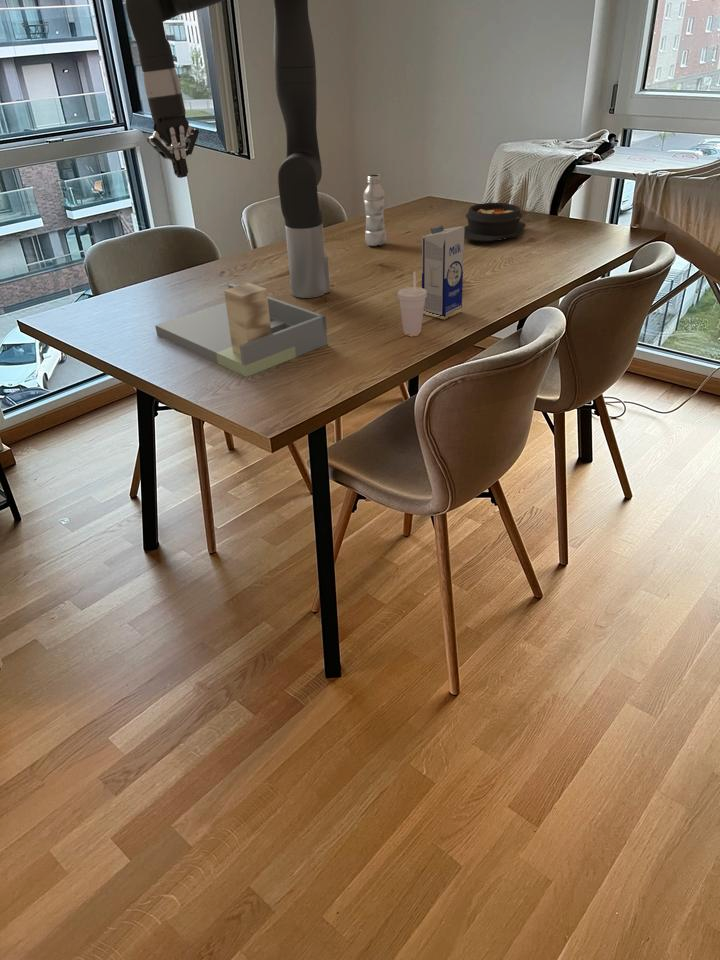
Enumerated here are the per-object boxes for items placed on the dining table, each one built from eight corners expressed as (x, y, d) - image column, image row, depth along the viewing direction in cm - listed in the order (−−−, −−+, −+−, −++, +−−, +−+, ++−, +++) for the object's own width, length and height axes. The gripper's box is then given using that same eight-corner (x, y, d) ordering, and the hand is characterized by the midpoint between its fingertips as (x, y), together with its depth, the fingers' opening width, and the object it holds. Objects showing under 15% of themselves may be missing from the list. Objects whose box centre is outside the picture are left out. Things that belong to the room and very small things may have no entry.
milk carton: (444, 320, 174) (446, 232, 163) (421, 314, 178) (421, 227, 167) (462, 311, 179) (465, 225, 168) (439, 306, 183) (440, 221, 172)
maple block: (255, 342, 161) (248, 282, 154) (273, 349, 157) (266, 288, 150) (232, 351, 158) (224, 290, 151) (250, 358, 154) (242, 296, 147)
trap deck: (234, 309, 186) (231, 283, 183) (327, 344, 165) (325, 316, 162) (157, 335, 174) (151, 308, 170) (246, 377, 153) (242, 346, 149)
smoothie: (424, 340, 165) (425, 276, 157) (395, 338, 166) (394, 276, 159) (428, 329, 170) (428, 267, 163) (400, 328, 172) (399, 266, 164)
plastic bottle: (390, 243, 229) (389, 174, 219) (379, 249, 225) (377, 178, 214) (372, 241, 232) (370, 172, 222) (360, 247, 228) (357, 177, 217)
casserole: (498, 250, 219) (500, 221, 215) (444, 241, 229) (445, 213, 225) (539, 231, 235) (541, 203, 231) (487, 223, 245) (488, 196, 241)
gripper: (147, 97, 160) (167, 183, 169) (198, 88, 168) (215, 171, 176) (129, 98, 165) (149, 182, 174) (179, 90, 172) (196, 171, 181)
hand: (182, 176), depth 175 cm, fingers closed
